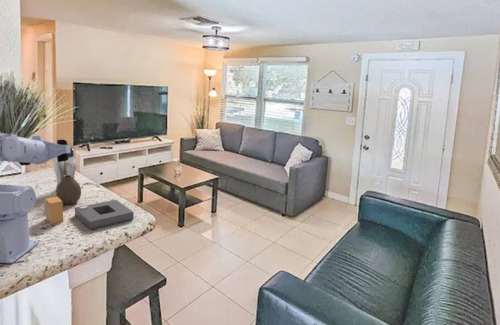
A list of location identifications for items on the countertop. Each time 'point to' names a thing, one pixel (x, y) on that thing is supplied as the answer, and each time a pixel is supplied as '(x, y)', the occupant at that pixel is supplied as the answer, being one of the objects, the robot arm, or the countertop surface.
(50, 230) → the countertop surface
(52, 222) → the plug
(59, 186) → the vase
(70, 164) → the metal tumbler
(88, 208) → the socket
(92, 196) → the countertop surface
